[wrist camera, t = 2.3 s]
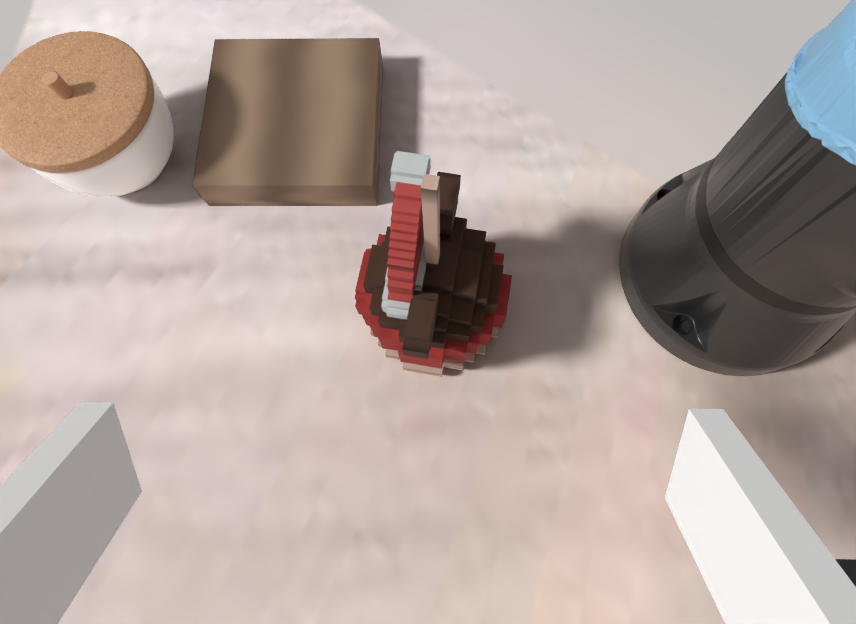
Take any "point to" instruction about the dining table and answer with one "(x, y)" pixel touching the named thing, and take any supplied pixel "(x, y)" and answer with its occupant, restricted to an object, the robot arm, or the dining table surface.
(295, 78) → the plinth
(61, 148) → the lidded jar
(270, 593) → the dining table surface
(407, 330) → the cake
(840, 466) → the dining table surface
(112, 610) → the dining table surface
